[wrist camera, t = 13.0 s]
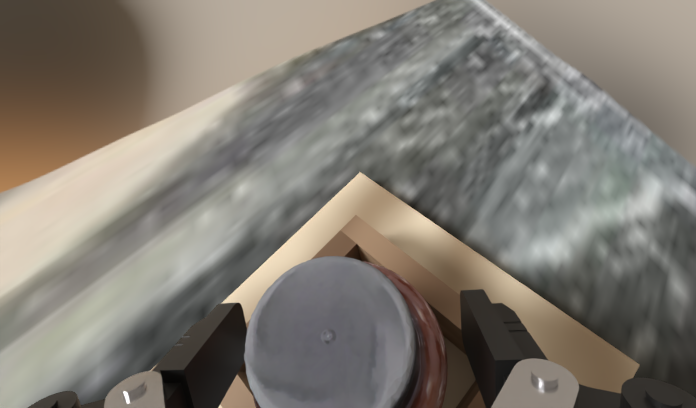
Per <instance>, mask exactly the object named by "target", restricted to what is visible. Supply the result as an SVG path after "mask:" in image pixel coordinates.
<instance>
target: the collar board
mask: <svg viewBox="0 0 696 408" xmlns="http://www.w3.org/2000/svg"><path fill="white" fill-rule="evenodd" d="M325 256H342V257H349V258H353V259H357V260H360V261H363V262H364V261H366V262H369V263H373V264H376V265H379V266H382V267H384V268H387V269H389V270H391V271H393V272H395V273H396V274H398V275H400V276H401V277H403V278H404V279H405V280H406V281H408V282H409V283H410V284H411V285H412V286H413V287H414V288H415V289H416V290H417V291H418V292H419V293H420V294H421V295H422V296H423V298H424V299H425V301H426V302H427V303H428V305H429V306H430V308H431V309H432V311H433V313H434V314H435V316H436V319H437V321H438V323H439V326H440V329H441V331H442V334H443V338H444V342H445V346H446V351H447V364H448V375H447V386H446V392H445V398H444V402H443V405H442V408H486V406H485V404H484V401H483V398H482V395H481V393H480V390H479V387H478V384H477V382H476V379H475V376H474V373H473V371H472V368H471V365H470V362H469V360H468V357H467V354H466V351H465V348H464V345H463V340H462V332H461V310H460V291H461V290H476V289H483V290H484V291H485V293H486V294H487V296H488V298H489V299H490V301H491V303H503V304H504V305H506V306H507V307H509V308H510V309H512V310H513V311H515V313H516V314H517V316H518V317H519V319H520V320H521V323H523V324H524V326H525V327H526V329H527V331H528V332H529V333H530V334H531V336H532V337H533V339H534V340H535V342H536V343H537V345H538V346H539V347H540V349H541V350H542V352H543V353H544V355H545V356H546V358H547V359H548V360H549V361H551V362H554V363H556V364H558V365H560V366H562V367H564V368H565V369H567V370H568V371H569V372H571V373H572V374H573V376H574V377H575V378H576V380H577V382H578V384H581V385H584V386H587V387H591V388H596V389H601V390H606V391H611V392H616V393H621V388H622V384H623V383H624V382H625V381H626V380H628V379H631V378H633V377H634V375H635V373H636V371H637V369H638V368H639V366H640V365H639V364H638V363H636V362H635V361H634V360H632V359H631V358H629V357H628V356H626V355H625V354H623V353H622V352H620V351H619V350H618V349H616V348H615V347H613V346H612V345H610V344H609V343H607V342H606V341H604V340H603V339H602V338H600V337H599V336H597V335H596V334H594V333H593V332H591V331H590V330H589V329H587V328H586V327H584V326H583V325H581V324H580V323H578V322H577V321H575V320H574V319H573V318H571V317H570V316H568V315H567V314H565V313H564V312H562V311H561V310H559V309H558V308H557V307H555V306H554V305H552V304H551V303H549V302H548V301H546V300H545V299H543V298H542V297H541V296H539V295H538V294H536V293H535V292H533V291H532V290H530V289H529V288H528V287H526V286H525V285H523V284H522V283H520V282H519V281H517V280H516V279H514V278H513V277H512V276H510V275H509V274H507V273H506V272H504V271H503V270H501V269H500V268H498V267H497V266H496V265H494V264H493V263H491V262H490V261H488V260H487V259H485V258H484V257H483V256H481V255H480V254H478V253H477V252H475V251H474V250H472V249H471V248H469V247H468V246H467V245H465V244H464V243H462V242H461V241H459V240H458V239H456V238H455V237H453V236H452V235H451V234H449V233H448V232H446V231H445V230H443V229H442V228H440V227H439V226H437V225H436V224H435V223H433V222H432V221H430V220H429V219H427V218H426V217H424V216H423V215H422V214H420V213H419V212H417V211H416V210H414V209H413V208H411V207H410V206H408V205H407V204H406V203H404V202H403V201H401V200H400V199H398V198H397V197H395V196H394V195H392V194H391V193H390V192H388V191H387V190H385V189H384V188H382V187H381V186H379V185H378V184H377V183H375V182H374V181H372V180H371V179H369V178H368V177H366V176H365V175H363V174H362V173H361V172H360V173H359V174H358V175H357V176H356V177H355V178H354V179H352V180H351V181H350V182H349V183H348V184H347V185H346V186H345V187H344V188H343V189H342V190H341V191H340V192H339V193H338V194H337V195H336V196H335V197H333V198H332V199H331V200H330V201H329V202H328V203H327V204H326V205H325V206H324V207H323V208H322V209H321V210H320V211H319V212H318V213H317V214H315V215H314V216H313V217H312V218H311V219H310V220H309V221H308V222H307V223H306V224H305V225H304V226H303V227H302V228H301V229H300V230H299V231H298V232H296V233H295V234H294V235H293V236H292V237H291V238H290V239H289V240H288V241H287V242H286V243H285V244H284V245H283V246H282V247H281V248H280V249H278V250H277V251H276V252H275V253H274V254H273V255H272V256H271V257H270V258H269V259H268V260H267V261H266V262H265V263H264V264H263V265H262V266H261V267H259V268H258V269H257V270H256V271H255V272H254V273H253V274H252V275H251V276H250V277H249V278H248V279H247V280H246V281H245V282H244V283H243V284H241V285H240V286H239V287H238V288H237V289H236V290H235V291H234V292H233V293H232V294H231V295H230V296H229V297H228V298H227V299H226V300H225V301H224V302H222V303H240V304H241V305H242V308H243V312H244V317H245V322H246V327H247V329H248V326H249V322H250V319H251V315H252V313H253V312H254V310H255V308H256V306H257V304H258V302H259V300H260V299H261V297H262V296H263V294H264V293H265V292H266V290H267V289H268V288H269V287H270V286H271V285H272V284H273V283H274V282H275V281H276V280H277V279H278V278H279V277H280V276H281V275H282V274H284V273H285V272H286V271H288V270H289V269H291V268H292V267H294V266H296V265H298V264H300V263H303V262H306V261H308V260H311V259H315V258H319V257H325ZM222 303H221V304H222ZM153 369H154V368H153ZM153 369H152V370H153ZM152 370H151V371H152ZM218 408H256V406H255V403H254V398H253V395H252V390H251V389H250V385H249V382H248V378H247V374H246V364H245V361H244V363H243V365H242V366H241V368H240V370H239V372H238V373H237V375H236V377H235V379H234V381H233V382H232V384H231V386H230V388H229V390H228V391H227V393H226V395H225V397H224V398H223V400H222V402H221V404H220V406H219V407H218Z"/></svg>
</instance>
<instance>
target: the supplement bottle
mask: <svg viewBox="0 0 696 408" xmlns="http://www.w3.org/2000/svg"><path fill="white" fill-rule="evenodd" d="M244 360H245V364H246V374H247V378H248V382H249V385H250V389H251V390H252V395H253V398H254V403H255V406H256V408H442V405H443V402H444V398H445V392H446V386H447V375H448V364H447V351H446V346H445V342H444V338H443V334H442V331H441V329H440V326H439V323H438V321H437V319H436V316H435V314H434V313H433V311H432V309H431V308H430V306H429V305H428V303H427V302H426V301H425V299H424V298H423V296H422V295H421V294H420V293H419V292H418V291H417V290H416V289H415V288H414V287H413V286H412V285H411V284H410V283H409V282H408V281H406V280H405V279H404V278H403V277H401V276H400V275H398V274H396V273H395V272H393V271H391V270H389V269H387V268H384V267H382V266H379V265H376V264H373V263H369V262H366V261H364V262H363V261H360V260H357V259H353V258H349V257H342V256H325V257H319V258H315V259H311V260H308V261H306V262H303V263H300V264H298V265H296V266H294V267H292V268H291V269H289V270H288V271H286V272H285V273H284V274H282V275H281V276H280V277H279V278H278V279H277V280H276V281H275V282H274V283H273V284H272V285H271V286H270V287H269V288H268V289H267V290H266V292H265V293H264V294H263V296H262V297H261V299H260V300H259V302H258V304H257V306H256V308H255V310H254V312H253V313H252V315H251V319H250V322H249V326H248V329H247V335H246V342H245V353H244Z"/></svg>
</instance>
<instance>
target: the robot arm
mask: <svg viewBox="0 0 696 408" xmlns="http://www.w3.org/2000/svg"><path fill="white" fill-rule="evenodd" d="M460 310H461V332H462V340H463V345H464V348H465V351H466V354H467V357H468V360H469V362H470V365H471V368H472V371H473V373H474V376H475V379H476V382H477V384H478V387H479V390H480V393H481V395H482V398H483V401H484V404H485V406H486V408H696V398H695V397H693V396H692V395H691V394H689V393H688V392H686V391H684V390H682V389H680V388H678V387H676V386H674V385H672V384H669V383H666V382H663V381H660V380H656V379H651V378H643V377H639V378H631V379H628V380H626V381H625V382H624V383H623V384H622V388H621V393H616V392H611V391H606V390H601V389H596V388H591V387H587V386H584V385H581V384H578V382H577V380H576V378H575V377H574V376H573V374H572V373H571V372H569V371H568V370H567V369H565V368H564V367H562V366H560V365H558V364H556V363H554V362H551V361H549V360H548V359H547V358H546V356H545V355H544V353H543V352H542V350H541V349H540V347H539V346H538V345H537V343H536V342H535V340H534V339H533V337H532V336H531V334H530V333H529V332H528V331H527V329H526V327H525V326H524V324H523V323H521V320H520V319H519V317H518V316H517V314H516V313H515V311H513V310H512V309H510V308H509V307H507V306H506V305H504V304H503V303H491V301H490V299H489V298H488V296H487V294H486V293H485V291H484V290H483V289H476V290H461V291H460ZM246 335H247V327H246V322H245V317H244V312H243V308H242V305H241V304H240V303H222V304H218V305H217V306H216V307H215V308H214V309H213V310H212V311H211V313H210V314H209V315H208V316H207V317H206V318H203V319H202V320H201V321H199V322H198V323H196V324H195V325H193V326H192V327H191V328H190V329H189V330H188V331H187V332H186V333H185V334H184V335H183V338H181V339H180V340H179V341H178V342H177V343H176V346H173V348H172V349H171V350H170V351H169V352H168V353H167V354H166V355H165V356H164V357H163V359H162V360H161V361H160V362H159V363H158V364H157V365H156V366H155V367H154V369H153V370H152V371H146V372H142V373H138V374H136V375H133V376H131V377H129V378H127V379H125V380H124V381H122V382H120V383H119V384H118V385H116V386H115V387H114V388H113V389H112V390H111V391H110V392H109V394H108V395H107V397H106V399H103V400H99V401H96V402H92V403H88V404H84V405H80V402H79V399H78V396H77V394H76V393H75V392H72V391H65V392H60V393H56V394H53V395H50V396H48V397H46V398H44V399H41V400H40V401H38V402H36V403H34V404H33V405H31V406H30V407H28V408H218V407H219V406H220V404H221V402H222V400H223V398H224V397H225V395H226V393H227V391H228V390H229V388H230V386H231V384H232V382H233V381H234V379H235V377H236V375H237V373H238V372H239V370H240V368H241V366H242V365H243V363H244V361H245V360H244V353H245V342H246Z"/></svg>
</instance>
